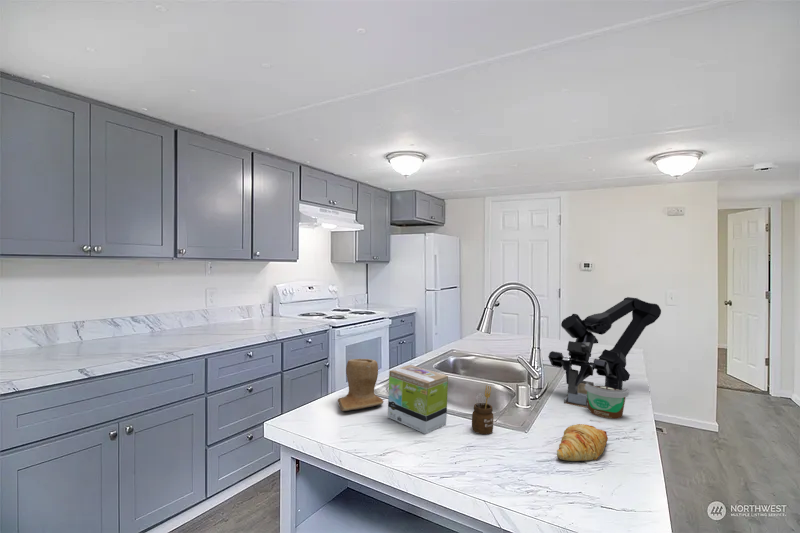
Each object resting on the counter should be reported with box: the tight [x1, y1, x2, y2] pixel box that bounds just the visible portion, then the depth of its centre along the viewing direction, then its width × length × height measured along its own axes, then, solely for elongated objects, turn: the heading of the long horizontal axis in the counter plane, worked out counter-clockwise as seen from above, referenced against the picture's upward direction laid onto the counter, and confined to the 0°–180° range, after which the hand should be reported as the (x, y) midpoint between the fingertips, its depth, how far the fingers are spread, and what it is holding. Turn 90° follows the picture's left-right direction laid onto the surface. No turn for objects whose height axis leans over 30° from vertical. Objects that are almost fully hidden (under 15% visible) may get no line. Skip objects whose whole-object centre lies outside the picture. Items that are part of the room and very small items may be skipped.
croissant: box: [556, 423, 609, 462], centre depth 104 cm, size 21×10×8 cm, turn 127°
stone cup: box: [337, 358, 384, 412], centre depth 130 cm, size 15×12×15 cm
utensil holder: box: [471, 384, 494, 435], centre depth 114 cm, size 6×6×12 cm
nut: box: [578, 383, 588, 398], centre depth 142 cm, size 4×4×4 cm
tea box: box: [387, 364, 449, 435], centre depth 119 cm, size 15×10×15 cm, turn 47°
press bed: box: [563, 380, 595, 409], centre depth 140 cm, size 16×8×6 cm, turn 148°
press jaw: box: [567, 368, 587, 405], centre depth 135 cm, size 3×6×10 cm, turn 58°
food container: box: [585, 383, 629, 420], centre depth 125 cm, size 12×6×10 cm, turn 62°
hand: (571, 384), depth 135 cm, fingers closed on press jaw, 2 cm apart
